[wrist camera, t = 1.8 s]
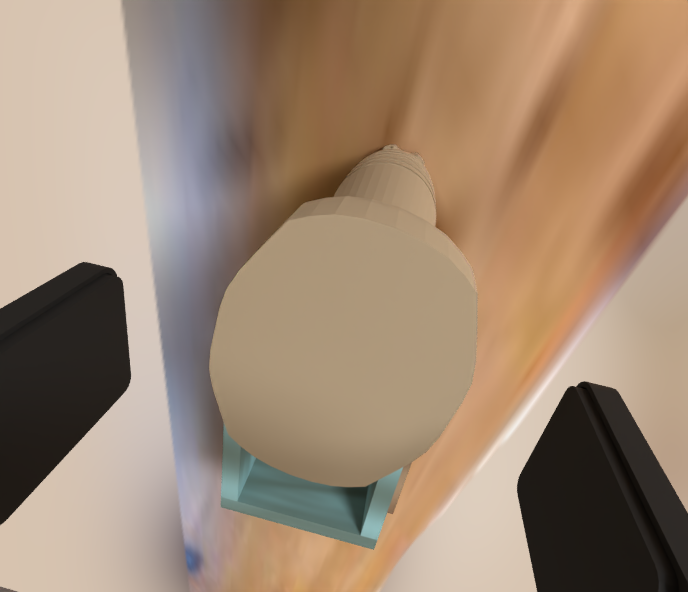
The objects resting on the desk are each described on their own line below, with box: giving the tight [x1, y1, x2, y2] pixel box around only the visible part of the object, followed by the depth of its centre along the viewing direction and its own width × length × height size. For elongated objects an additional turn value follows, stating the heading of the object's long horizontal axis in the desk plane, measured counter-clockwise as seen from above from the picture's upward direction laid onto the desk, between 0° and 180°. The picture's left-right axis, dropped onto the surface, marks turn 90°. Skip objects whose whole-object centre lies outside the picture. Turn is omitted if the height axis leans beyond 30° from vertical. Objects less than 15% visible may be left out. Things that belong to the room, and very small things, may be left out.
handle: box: [209, 144, 478, 487], centre depth 15 cm, size 5×6×15 cm
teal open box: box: [221, 424, 412, 550], centre depth 26 cm, size 14×12×6 cm
